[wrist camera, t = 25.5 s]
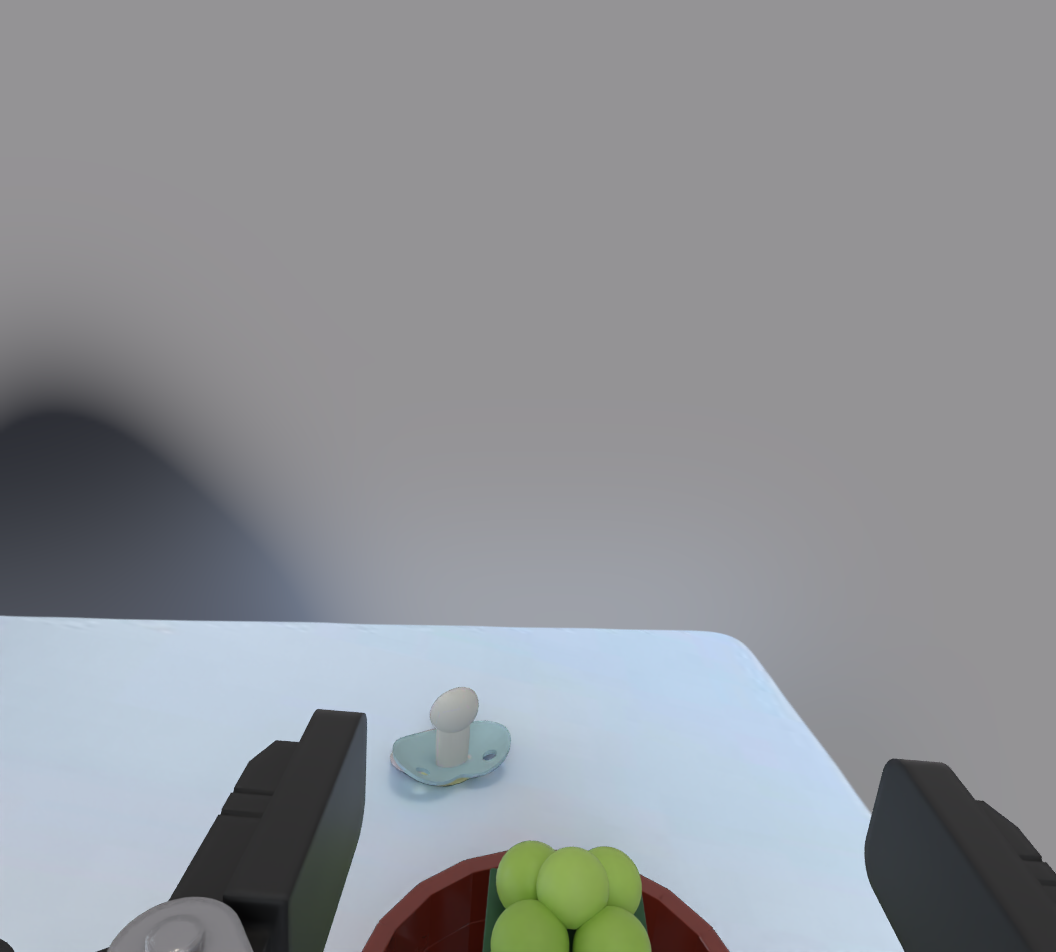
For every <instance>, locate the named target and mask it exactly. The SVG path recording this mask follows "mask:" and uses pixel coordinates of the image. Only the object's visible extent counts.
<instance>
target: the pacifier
mask: <svg viewBox="0 0 1056 952" xmlns="http://www.w3.org/2000/svg"><path fill="white" fill-rule="evenodd" d="M478 706H479V703H478V698H477V695H476V693H475V692H474V691H473V690H472V689H470V688H467V687H458V688H454V689H451V690H449V691H447V692H445V693H444V694H442V695H441V696H440V697H439V698H438V699H437V700H436V701H435V702H434V704H433V706H432V708H431V710H430V720H431V722H432V724H433V725H434V727H435V728H437V729H431V730H427V731H424V732H420V733H417V734H412V735H409V736H405V737H402V738H400V739H398V740H396V742H395V743H394V745H393V751H392V753H391V755H390V759H391V763H392V764H393V765H394V766H395V767H396V768H397V769H399V770H401V771H403V772H405V773H406V774H408V775H409V776H410V777H412V778H414V779H415V780H417V781H419V782H422V783H425V784H429V785H436V786H448V785H454V784H458V783H461V782H463V781H466V780H468V779H469V778H472V777H479V776H482V775H485V774H487V773H489V772H491V771H493V770H494V769H496V768H497V767H498V766H499V765H500V764H501V763H502V762H503V761H504V760H505V758H506V757H507V754H508V752H509V749H510V742H511V737H510V733H509V731H508V730H507V728H506V727H504V726H503V725H501V724H499V723H496V722H490V721H475V722H473V720H474V719H475V717H476V715H477V712H478ZM488 754H495V755H496V756H495V757H494V758H492V759H490V760H484V759H483V758H484V757H485V756H486V755H488Z"/></svg>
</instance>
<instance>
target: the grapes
mask: <svg viewBox="0 0 1056 952" xmlns="http://www.w3.org/2000/svg"><path fill="white" fill-rule="evenodd" d="M482 952H651V944H650V940H649V937H648V932H647V925H646V918H645V911H644V904H643V898H642V883H641V878H640V874H639V872H638V869H637V867H636V866H635V864H634V863H633V861H632V860H631V859H630V858H629V857H628V856H627V855H626V854H625V853H623V852H622V851H620V850H618V849H615V848H612V847H596V848H593V849H591V850H589V851H587V850H585V849H582V848H578V847H565V848H561V849H559V850H557V851H555V850H554V849H553V848H551V847H550V846H549V845H547V844H545V843H542V842H539V841H524V842H521V843H518V844H516V845H515V846H513V847H512V848H510V849H509V850H508V851H507V852H506V854H505V855H504V856H503V858H502V860H501V861H500V863H499V866H498V869H495V868H492V869H491V870H490V876H489V887H488V897H487V908H486V918H485V929H484V939H483V950H482Z"/></svg>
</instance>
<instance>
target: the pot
mask: <svg viewBox="0 0 1056 952" xmlns="http://www.w3.org/2000/svg"><path fill="white" fill-rule="evenodd" d="M507 851H508V850H507ZM507 851H503V852H498V853H494V854H489V855H485V856H480V857H476V858H471V859H466V860H463V861H461V862H459V863H458V864H456V865H454V866H452V867H450V868H448V869H446V870H444V871H442V872H440V873H438V874H436V875H434V876H432V877H430V878H428V879H426V880H425V881H423V882H421V883H419V884H418V885H417V886H415V887H414V888H413V889H412V890H411V891H410V892H409V893H408V894H407V895H406V896H405V897H404V898H403V899H402V900H401V901H400V902H399V903H397V904H396V905H395V906H394V907H393V908H392V909H391V910H390V911H389V912H388V913H387V914H386V915H385V916H384V917H383V918H382V919H381V920H379V923H378V924H377V925H376V927H375V929H374V931H373V932H372V934H371V936H370V938H369V940H368V941H367V943H366V945H365V947H364V948H363V950H362V952H482V950H483V939H484V929H485V918H486V908H487V897H488V887H489V876H490V870H491V869H492V868H495V869H498V866H499V863H500V861H501V860H502V858H503V856H504V855H505V854H506V852H507ZM555 851H557V850H555ZM640 878H641V883H642V898H643V904H644V911H645V918H646V925H647V932H648V937H649V940H650V944H651V952H729V950H728V949H727V947H726V946H725V945H724V943H723V942H722V940H721V939H720V937H719V936H718V935H717V933H716V932H715V930H714V929H713V927H712V926H711V925H709V924H708V923H707V922H706V921H705V920H704V919H702V918H701V917H700V916H699V915H698V914H697V913H696V912H694V911H693V910H692V909H691V908H690V907H689V906H687V905H686V904H685V903H684V902H683V901H682V900H681V899H679V898H678V897H677V896H676V895H675V894H674V893H672V892H671V891H670V890H668V889H667V888H665V887H663V886H661V885H659V884H658V883H656V882H654V881H652V880H650V879H648V878H646V877H644V876H642V875H640Z"/></svg>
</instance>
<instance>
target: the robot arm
mask: <svg viewBox="0 0 1056 952" xmlns="http://www.w3.org/2000/svg"><path fill="white" fill-rule="evenodd" d="M366 746H367V718H366V714H365V713H358V712H346V711H334V710H322V709H317V710H316V711H315V712H314V714H313V716H312V718H311V720H310V722H309V724H308V726H307V728H306V730H305V732H304V734H303V736H302V738H301V740H300V742H290V741H278V740H276V741H275V742H273V743H272V744H271V745H269V746H268V747H267V748H266V749H264V750H263V751H262V752H261V753H259V754H258V755H257V756H256V757H254V758H253V759H252V760H250V761H249V763H248V765H247V766H246V768H245V770H244V771H243V773H242V775H241V777H240V778H239V780H238V782H237V784H236V785H235V787H234V792H233V793H231V794H230V796H229V797H228V799H227V801H226V803H225V804H224V806H223V808H222V811H221V815H218V816H217V818H216V820H215V822H214V823H213V825H212V827H211V828H210V830H209V832H208V834H207V835H206V837H205V839H204V841H203V842H202V844H201V846H200V847H199V849H198V851H197V853H196V854H195V856H194V858H193V860H192V861H191V863H190V865H189V866H188V868H187V870H186V872H185V873H184V875H183V877H182V879H181V880H180V882H179V884H178V885H177V887H176V889H175V891H174V892H173V894H172V896H171V898H170V899H169V901H168V902H165V903H162V904H160V905H157V906H155V907H153V908H151V909H149V910H147V911H146V912H144V913H142V914H141V915H139V916H138V917H136V918H135V919H134V920H132V921H131V922H130V923H129V924H128V925H127V926H126V927H125V928H124V929H122V930H121V931H120V933H119V934H118V935H117V936H116V938H115V939H114V940H113V942H112V943H111V945H110V947H108V948H106V949H103V950H100V951H97V952H323V951H324V948H325V944H326V941H327V938H328V935H329V932H330V929H331V925H332V922H333V919H334V916H335V913H336V910H337V907H338V903H339V900H340V897H341V894H342V891H343V888H344V884H345V881H346V878H347V875H348V872H349V869H350V865H351V862H352V859H353V856H354V853H355V850H356V846H357V843H358V840H359V836H360V831H361V827H362V821H363V814H364V806H365V786H366ZM1041 858H1042V857H1041V855H1040V854H1039V853H1038V851H1037V850H1036V849H1035V848H1034V847H1033V845H1032V844H1031V843H1030V842H1029V841H1028V839H1027V838H1026V837H1025V836H1024V834H1023V833H1022V832H1021V831H1020V829H1019V828H1018V827H1016V826H1015V825H1014V824H1013V823H1012V822H1010V821H1009V820H1008V819H1006V818H1005V817H1004V816H1002V815H1001V814H1000V813H998V812H997V811H996V810H994V809H993V808H992V807H991V806H989V805H988V804H987V803H985V802H984V801H977V800H975V799H974V798H973V797H972V795H971V794H970V793H969V791H968V790H967V789H966V788H965V786H964V785H963V784H962V782H961V781H960V780H959V779H958V777H957V776H956V775H955V773H954V772H953V771H952V770H951V769H950V768H949V767H948V766H947V765H946V764H944V763H940V762H927V761H916V760H904V759H891V760H889V761H888V762H887V764H886V765H885V767H884V769H883V772H882V776H881V781H880V784H879V788H878V793H877V797H876V800H875V804H874V808H873V812H872V816H871V820H870V824H869V828H868V832H867V836H866V841H865V865H866V871H867V875H868V879H869V882H870V884H871V887H872V889H873V891H874V893H875V895H876V897H877V899H878V901H879V903H880V904H881V906H882V908H883V910H884V912H885V914H886V916H887V918H888V920H889V922H890V924H891V926H892V928H893V930H894V932H895V934H896V936H897V938H898V940H899V942H900V944H901V946H902V947H903V949H904V951H905V952H1056V874H1055V872H1054V871H1053V870H1052V869H1051V867H1050V866H1049V865H1048V864H1047V863H1046V862H1042V859H1041ZM0 952H14V950H13V948H12V947H11V946H10V945H9V944H8V943H7V942H5V941H3V940H1V939H0Z"/></svg>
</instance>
